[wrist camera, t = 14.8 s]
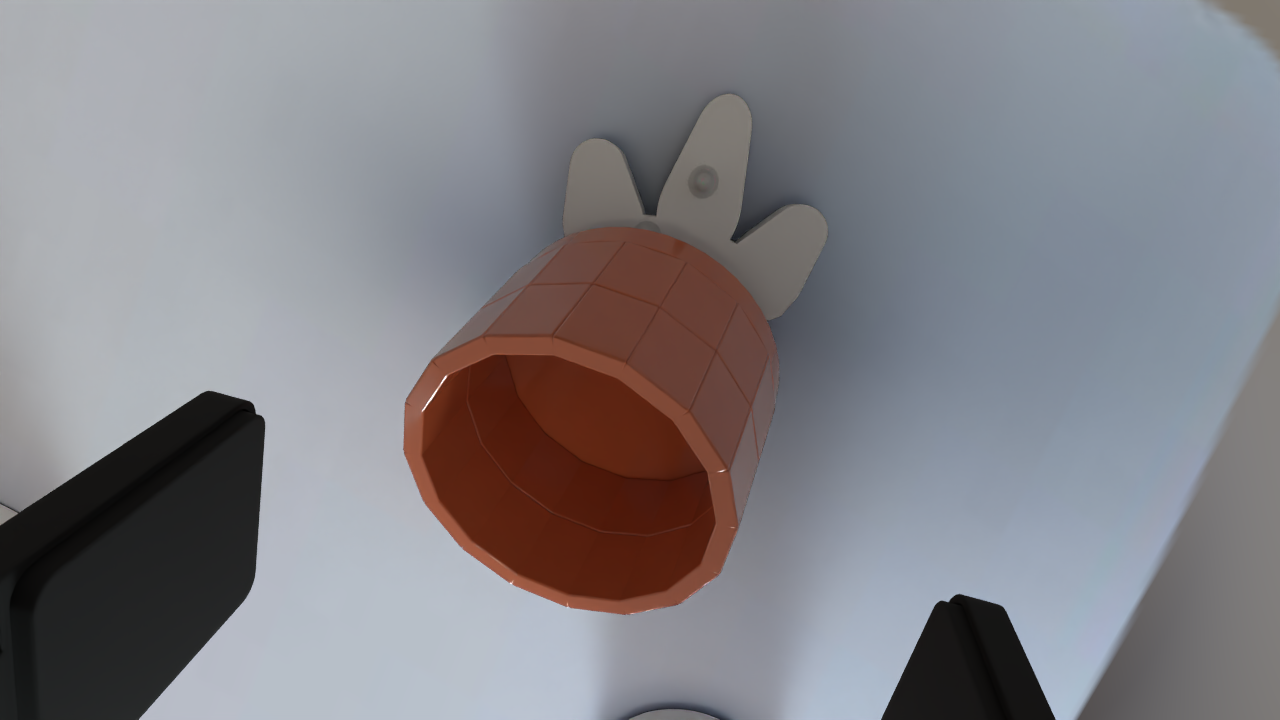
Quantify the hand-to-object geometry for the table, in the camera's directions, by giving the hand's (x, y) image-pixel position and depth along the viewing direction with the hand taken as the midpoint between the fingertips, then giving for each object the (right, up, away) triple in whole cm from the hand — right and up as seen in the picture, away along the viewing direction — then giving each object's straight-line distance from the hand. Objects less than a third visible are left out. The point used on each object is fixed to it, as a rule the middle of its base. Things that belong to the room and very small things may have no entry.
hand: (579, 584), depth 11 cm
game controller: (+1, +4, +9) cm, 10 cm away
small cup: (+1, +3, +7) cm, 8 cm away
